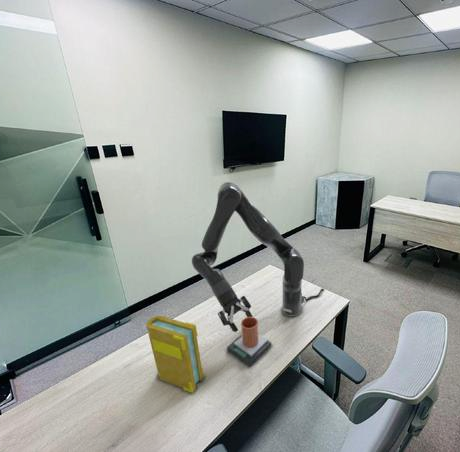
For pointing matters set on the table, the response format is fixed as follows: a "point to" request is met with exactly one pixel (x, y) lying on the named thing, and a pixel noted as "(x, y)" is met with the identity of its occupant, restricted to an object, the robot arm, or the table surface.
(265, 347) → the scale
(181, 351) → the book
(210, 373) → the table surface
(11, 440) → the table surface
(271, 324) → the table surface
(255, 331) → the cup
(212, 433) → the table surface
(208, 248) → the robot arm
